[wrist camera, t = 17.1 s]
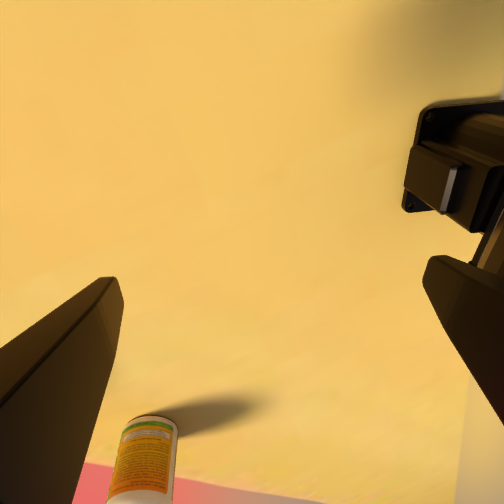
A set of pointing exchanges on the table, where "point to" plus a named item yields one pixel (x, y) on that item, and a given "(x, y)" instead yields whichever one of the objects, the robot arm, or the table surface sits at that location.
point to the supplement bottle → (145, 463)
